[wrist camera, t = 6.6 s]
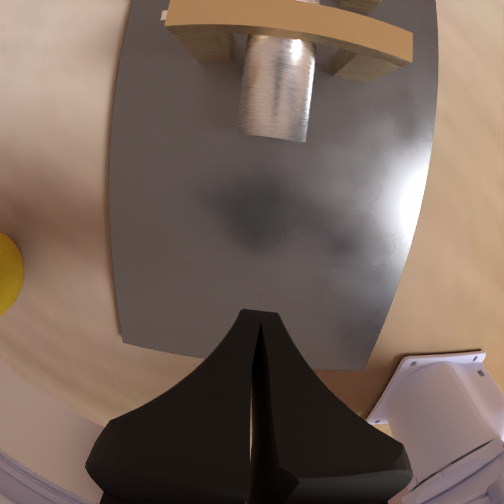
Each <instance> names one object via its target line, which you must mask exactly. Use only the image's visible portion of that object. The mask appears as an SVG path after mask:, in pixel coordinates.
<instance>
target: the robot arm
mask: <svg viewBox="0 0 504 504" xmlns="http://www.w3.org/2000/svg"><path fill="white" fill-rule="evenodd" d="M485 356H486V353H485V352H484V351H476V352H465V353H454V354H440V355H421V356H406V357H404V358H403V359H402V360H401V362H400V364H399V366H398V368H397V369H396V371H395V373H394V375H393V377H392V378H391V380H390V382H389V384H388V385H387V387H386V389H385V391H384V392H383V394H382V396H381V397H380V399H379V401H378V402H377V404H376V405H375V407H374V409H373V410H372V412H371V413H370V415H369V416H368V418H367V419H366V421H365V420H364V419H362V418H361V417H359V416H358V415H357V414H356V413H354V412H353V411H352V410H351V409H349V408H348V407H347V406H346V405H345V404H344V403H343V402H342V401H340V400H339V399H338V398H337V397H336V396H335V395H334V394H333V393H332V392H331V391H330V390H329V389H328V388H327V387H326V386H325V385H324V383H323V382H322V381H321V380H320V379H319V378H318V376H317V375H316V374H315V373H314V371H313V370H312V369H311V367H310V366H309V365H308V363H307V362H306V361H305V359H304V358H303V356H302V355H301V353H300V352H299V350H298V348H297V347H296V345H295V343H294V342H293V340H292V338H291V337H290V335H289V333H288V331H287V329H286V327H285V325H284V323H283V321H282V319H281V316H280V315H279V314H278V313H276V312H267V311H259V310H251V309H242V310H240V312H239V315H238V317H237V319H236V321H235V322H234V324H233V326H232V327H231V329H230V330H229V332H228V333H227V334H226V336H225V337H224V338H223V340H222V341H221V342H220V344H219V345H218V346H217V347H216V348H215V349H214V351H213V352H212V353H211V354H210V355H209V356H208V357H207V358H206V359H205V360H204V361H203V362H202V363H201V364H200V365H199V366H198V367H197V368H196V369H195V370H194V371H193V372H192V373H190V374H189V375H188V376H187V377H185V378H184V379H183V380H182V381H180V382H179V383H178V384H176V385H175V386H174V387H172V388H171V389H169V390H168V391H166V392H165V393H163V394H162V395H160V396H158V397H157V398H155V399H153V400H152V401H150V402H148V403H147V404H145V405H143V406H141V407H139V408H137V409H135V410H133V411H131V412H128V413H126V414H124V415H122V416H119V417H117V418H115V419H112V420H110V421H109V423H108V424H107V425H106V427H105V428H104V429H103V431H102V433H101V434H100V436H99V437H98V438H97V440H96V442H95V444H94V446H93V448H92V450H91V453H90V455H89V457H88V459H87V462H86V465H85V468H86V470H87V472H88V474H89V475H90V477H91V478H92V479H93V480H94V481H95V483H96V484H97V485H98V486H99V487H100V488H101V489H102V490H103V491H104V493H103V496H102V498H101V501H100V504H245V502H246V504H388V502H387V501H388V500H389V499H391V498H392V497H393V496H395V495H396V494H397V493H399V492H400V491H401V490H402V489H404V488H405V487H406V486H407V485H408V489H409V494H408V495H406V496H404V497H402V502H403V504H504V394H503V393H502V391H501V389H500V388H499V386H498V385H497V383H496V382H495V381H494V379H493V378H492V376H491V375H490V373H489V372H488V370H487V369H486V368H485V366H484V365H483V363H482V361H483V360H484V358H485ZM251 388H252V426H253V428H252V447H251V458H250V402H251ZM385 423H389V426H390V429H391V432H392V435H393V438H394V439H393V438H392V437H390V436H388V435H387V434H385V433H383V432H381V431H380V430H378V429H376V428H375V427H373V426H372V425H375V424H385ZM0 504H97V503H95V502H92V501H89V500H88V499H85V498H83V497H81V496H79V495H77V494H75V493H72V492H70V491H68V490H66V489H64V488H62V487H60V486H59V485H57V484H55V483H53V482H51V481H49V480H48V479H46V478H44V477H42V476H41V475H39V474H37V473H35V472H34V471H32V470H31V469H29V468H27V467H26V466H24V465H23V464H21V463H20V462H18V461H16V460H15V459H14V458H12V457H11V456H9V455H8V454H7V453H5V452H4V451H2V450H1V449H0Z"/></svg>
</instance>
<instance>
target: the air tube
mask: <svg viewBox="0 0 504 504" xmlns="http://www.w3.org/2000/svg"><path fill="white" fill-rule="evenodd" d="M297 1H303V2H309V3H314V4H319V5H320V0H297ZM316 46H317V43H313V42H307V41H301V40H295V39H288V38H281V37H273V36H264V35H253V34H248V39H247V46H246V54H245V61H244V69H243V76H242V84H241V92H240V100H239V109H238V117H237V126H236V134H241V135H250V136H258V137H267V138H275V139H282V140H290V141H297V142H306V135H307V127H308V119H309V111H310V102H311V94H312V85H313V76H314V66H315V56H316Z"/></svg>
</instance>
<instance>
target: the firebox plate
mask: <svg viewBox="0 0 504 504" xmlns="http://www.w3.org/2000/svg"><path fill="white" fill-rule="evenodd" d="M248 34H253V35H264V36H273V37H281V38H288V39H295V40H301V41H307V42H313V43H317V46H316V56H315V66H314V76H313V85H312V94H311V102H310V111H309V119H308V127H307V135H306V142H297V141H290V140H282V139H275V138H267V137H258V136H250V135H241V134H236V126H237V117H238V109H239V100H240V92H241V84H242V76H243V69H244V61H245V54H246V46H247V39H248ZM437 88H438V27H437V13H436V2H435V0H320V5H319V4H314V3H309V2H303V1H297V0H133V4H132V8H131V12H130V15H129V19H128V24H127V28H126V32H125V37H124V42H123V47H122V52H121V57H120V63H119V69H118V76H117V82H116V90H115V98H114V107H113V117H112V128H111V143H110V166H109V214H110V237H111V252H112V264H113V275H114V284H115V292H116V300H117V308H118V314H119V321H120V327H121V333H122V338H123V343H127V344H131V345H135V346H140V347H144V348H149V349H154V350H159V351H164V352H169V353H174V354H180V355H186V356H191V357H198V358H204V359H206V358H207V357H208V356H209V355H210V354H211V353H212V352H213V351H214V349H215V348H216V347H217V346H218V345H219V344H220V342H221V341H222V340H223V338H224V337H225V336H226V334H227V333H228V332H229V330H230V329H231V327H232V326H233V324H234V322H235V321H236V319H237V317H238V315H239V312H240V310H242V309H251V310H259V311H267V312H276V313H278V314H279V315H280V316H281V319H282V321H283V323H284V325H285V327H286V329H287V331H288V333H289V335H290V337H291V338H292V340H293V342H294V343H295V345H296V347H297V348H298V350H299V352H300V353H301V355H302V356H303V358H304V359H305V361H306V362H307V363H308V365H309V366H310V367H311V369H314V370H353V371H363V370H364V367H365V365H366V363H367V361H368V359H369V357H370V354H371V352H372V350H373V348H374V345H375V343H376V341H377V339H378V336H379V334H380V331H381V329H382V326H383V324H384V322H385V319H386V316H387V314H388V311H389V309H390V306H391V303H392V301H393V298H394V295H395V292H396V289H397V287H398V284H399V281H400V278H401V275H402V272H403V268H404V265H405V262H406V259H407V256H408V252H409V249H410V245H411V242H412V238H413V235H414V231H415V227H416V223H417V219H418V215H419V211H420V206H421V202H422V198H423V193H424V188H425V183H426V178H427V172H428V167H429V161H430V155H431V148H432V141H433V133H434V124H435V115H436V103H437Z"/></svg>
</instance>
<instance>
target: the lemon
mask: <svg viewBox="0 0 504 504" xmlns="http://www.w3.org/2000/svg"><path fill="white" fill-rule="evenodd" d="M23 280H24V264H23V260H22V256H21V252H20V250H19V249H18V247H17V246H16V245H15V243H14V242H13V241H12V240H11V239H10V238H9V237H8V236H6V235H5V234H3V233H1V232H0V316H1V315H3V314H4V313H5V312H6V311H7V310H8V309H9V308H10V307H11V306H12V305H13V304H14V302H15V301H16V299H17V298H18V296H19V293H20V291H21V288H22V285H23Z"/></svg>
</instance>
